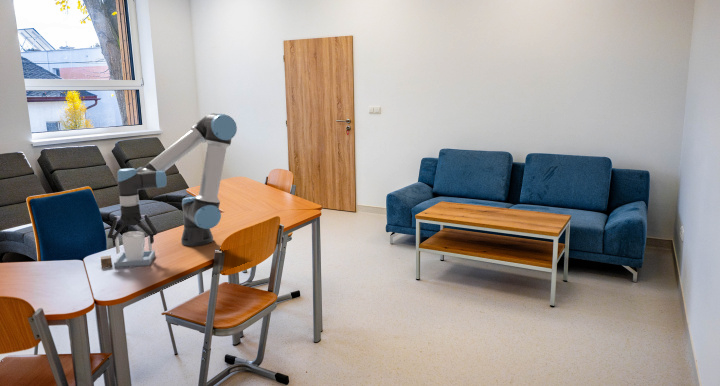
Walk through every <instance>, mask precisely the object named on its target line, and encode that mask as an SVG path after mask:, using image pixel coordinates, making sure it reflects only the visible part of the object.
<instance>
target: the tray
mask: <svg viewBox="0 0 720 386" xmlns="http://www.w3.org/2000/svg"><path fill="white" fill-rule="evenodd" d="M155 257H156V251H155V249H154V250H153V249H152V251H150V252H149V250H144V255H143V260H134V261H127V259H126V255H125V252H121V253H119V256H118V257H116V259H115V261H114V262H113V268H114V269H122V268H123V269H124V268H125V269H126V268H133V267H134V268H135V267H136V268H137V267H148V266H150V265H151V264H152V262H153V260H154V259H155Z"/></svg>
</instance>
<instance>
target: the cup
mask: <svg viewBox="0 0 720 386" xmlns="http://www.w3.org/2000/svg"><path fill="white" fill-rule="evenodd" d="M145 244H146V238H145V231H139V230H137V231H136V230H133V231H132V230H131V231H127V232H124V233H122V246H123V251H124V253H125V255H126V259H127V261H134V260H143V255H144V251H145Z"/></svg>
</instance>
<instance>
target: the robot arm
mask: <svg viewBox="0 0 720 386" xmlns="http://www.w3.org/2000/svg"><path fill="white" fill-rule="evenodd" d="M237 130H238V127H237V122H236V121H235V119H234V118H233V117H231V116H230V115H227V114H225V113H209V114H207V115H205V116H204V117H202V118H201V119H200V120H199V121H198V122H196V123H195V124H193V125H192V126H191V127H190V130H189V131H188V132H187V133H185V134H184V135H183V136H182V137H180V138H179V139H178V140H176V141H175V142H174V143H172V144H171V145H170V146H169V147H167V148H166V149H164V150H163V151H162V152H161V153H160V154H158V155H157V156H156V157H154V158H152V160H150V161H149V162H148V163H146V164H145V165H144V166H140V167H138V168H137V169H136V168H133V167H132V168H131V167H129V168H121V169H118V171H117V172H116V173H117V174H116V175H117V184H118V185H117V188H118V194H119V195H118V196H119V197H118V198H119V204H120V206H119V207H120V216H118V215H114V217H113V219H112V224H111V227H110V229H109V232H108V234H107V238H108V239H112V244H113V245H112V246H113V247H115V251H116V255H117V254H119V255H120V252H121V250H120V238H119V237H118V236H119V234H120V232H122V231H123V229H124V227H125V226H127V227H130V226H133V227H134V226H138V227H139V228H140V229H141V230H142V231H143V232H144V233H146V234H147V235H148V236H147V241H148V251H149V252H150V251H153V245H152V244H154V241H155V239H154V237H155V236H156V235H158V233H159V232H158V230H157V229H156V228H155V226H154V224H153V223H152V220H150V217H149V214H148V213H146V214H141V206H140V196H139V191H140V190H149V189H161V188H164V187H167V184H168V183H167V180H168V179H167V174H166V171H167V170H168V169H170V168H171V167H172V166H174V165H175V164H176V163H177V162H179V161H180V160H181V159H182V158H184V157H185V156H187V155H188V154H189V153H190V152H192V151H193V150H194V149H196V148H197V147H198V146H199V145H201V144H207V147H206V151H205V152H206V153H205V159H204V163H203V168H202V169H203V170H202V175H201V181H200V186H199V192H198V194H197V195H196V196H188V197H184V198H182V200H181V207H182V215H183V216H182V218H183V219H182V220H183V231H182V234H181V239H180V240H181V245H183V246H186V247H198V246H200V247H201V246H204V245H208V243H209V244H211V243H213V242H214V236H213V233H212V231H211V229H213V228H215V227H216V226H217V225H219V223H220V221H221V218H222V212H221V211H220V204H221V201H220V199H219V197H218V196H219V191H220V186H221V179H222V175H223V168H224V163H225V157H226V153H227V148H229V147H230V146H231V143H232V139H233V138H234V137H235V136H236V134H237ZM142 219H143V220H144V221H145V223H146V225H147V226H148V227H149V228H148V227H147V226H146V225H145V224H144V223H143V221H141V220H142ZM119 221H121V222H122V223H121V225H120V226H119V228H118V229H117V231H116V232H115V233H114V231H115V229H116V227H117V224H118V222H119ZM210 242H211V243H210Z"/></svg>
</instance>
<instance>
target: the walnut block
mask: <svg viewBox="0 0 720 386" xmlns="http://www.w3.org/2000/svg"><path fill="white" fill-rule="evenodd" d="M112 263H113V261H112V255H105V256H104V255H103V256H100V266H101V269H107V268H112V267H113V264H112ZM106 267H107V268H106Z"/></svg>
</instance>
